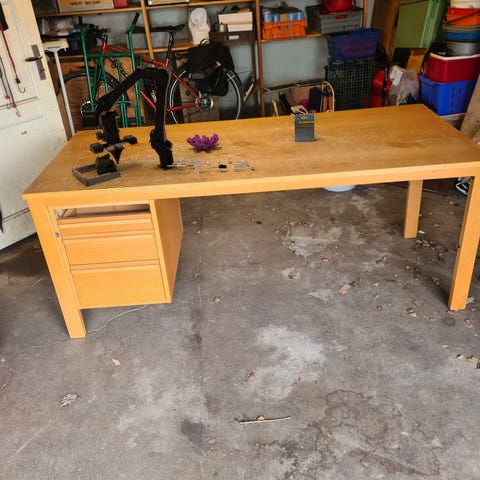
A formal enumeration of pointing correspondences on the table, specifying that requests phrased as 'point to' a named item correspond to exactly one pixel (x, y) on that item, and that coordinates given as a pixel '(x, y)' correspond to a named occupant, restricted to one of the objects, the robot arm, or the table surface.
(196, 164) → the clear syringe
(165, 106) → the robot arm
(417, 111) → the table surface
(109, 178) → the frame
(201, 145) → the purple flower bowl
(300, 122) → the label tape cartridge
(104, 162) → the end cap
